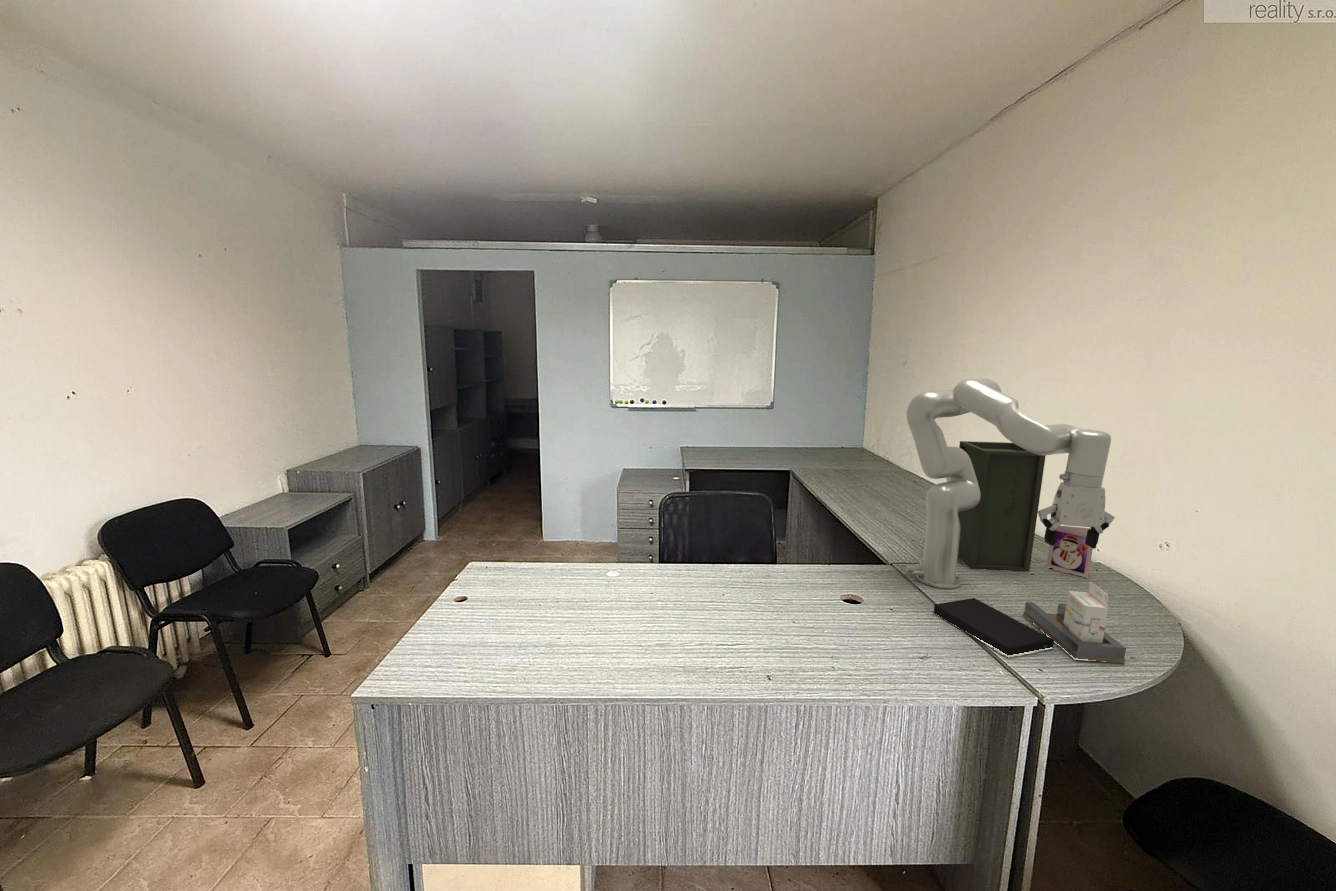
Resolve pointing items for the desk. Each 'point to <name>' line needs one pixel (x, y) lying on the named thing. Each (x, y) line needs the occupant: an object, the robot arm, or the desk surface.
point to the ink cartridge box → (1086, 614)
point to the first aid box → (1001, 507)
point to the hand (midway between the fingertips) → (1069, 545)
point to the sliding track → (1073, 636)
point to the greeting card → (1070, 551)
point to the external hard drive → (992, 626)
